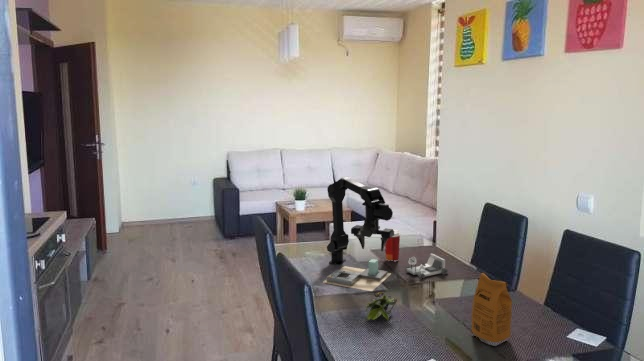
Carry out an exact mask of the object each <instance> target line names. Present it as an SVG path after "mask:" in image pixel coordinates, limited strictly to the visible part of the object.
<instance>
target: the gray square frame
mask: <svg viewBox="0 0 644 361" xmlns="http://www.w3.org/2000/svg"><path fill="white" fill-rule="evenodd" d="M388 273H389V272H388V270H381V269H378V274H377V275H376V276H374V275H369V267H367V268H366V270H365V271H363V272H362V273H361V278H367V279H373V280H379V281H380V280H381V279H382V278H384V277H385V276H386V275H387V274H388Z"/></svg>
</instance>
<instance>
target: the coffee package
mask: <svg viewBox="0 0 644 361" xmlns="http://www.w3.org/2000/svg"><path fill="white" fill-rule="evenodd" d="M508 286H509V284H508V282H505V281H500V280H495V279H491V278H489V277H488V276H487V275H486V274H485V273H484V272H482V273H480V276H479V279H478V282H477V286H476V288H475V292H474V295H473V302H472V309H471V333H472V332H473V334H475V335H477V336H478V337H479V338H482V339H485V340H487V341H491V342H499V341H503V340H505V339H506V338H508V337H510V338H511V332H512V331H511V324H512V308H513V301H512V298H511V296H510V293H509V291H508V288H507V287H508Z"/></svg>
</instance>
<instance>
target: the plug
mask: <svg viewBox="0 0 644 361" xmlns="http://www.w3.org/2000/svg"><path fill="white" fill-rule="evenodd" d="M367 265H368V268H369V275H374V276H376V275H377V274H378V270H379V260H378V259H375V258H371V259H370V260H369V261H368V264H367Z"/></svg>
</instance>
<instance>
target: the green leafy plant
mask: <svg viewBox="0 0 644 361" xmlns="http://www.w3.org/2000/svg"><path fill="white" fill-rule="evenodd" d="M373 295H374V297H375V298H372V299H370V300H369V302H367V304H368V305H367V304H366V305H365V307H366V308H365V311H368V310H369V312H368V314H367V315H366V321H370V320H372V321H374V320H376V319H378V318H379V317H381V316H383V318H384V319H385V320H386V322H387V323H388V322H389V320H390V319H389V318H390V315H391V312H392V310H393V308H394V306H395V305H396V304H397V298H395V297H393V298H392V295H387V294H385V292H376V293H374V294H373ZM389 306H392V307H391V308H390V310H388V307H389ZM387 310H388V311H387Z"/></svg>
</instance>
